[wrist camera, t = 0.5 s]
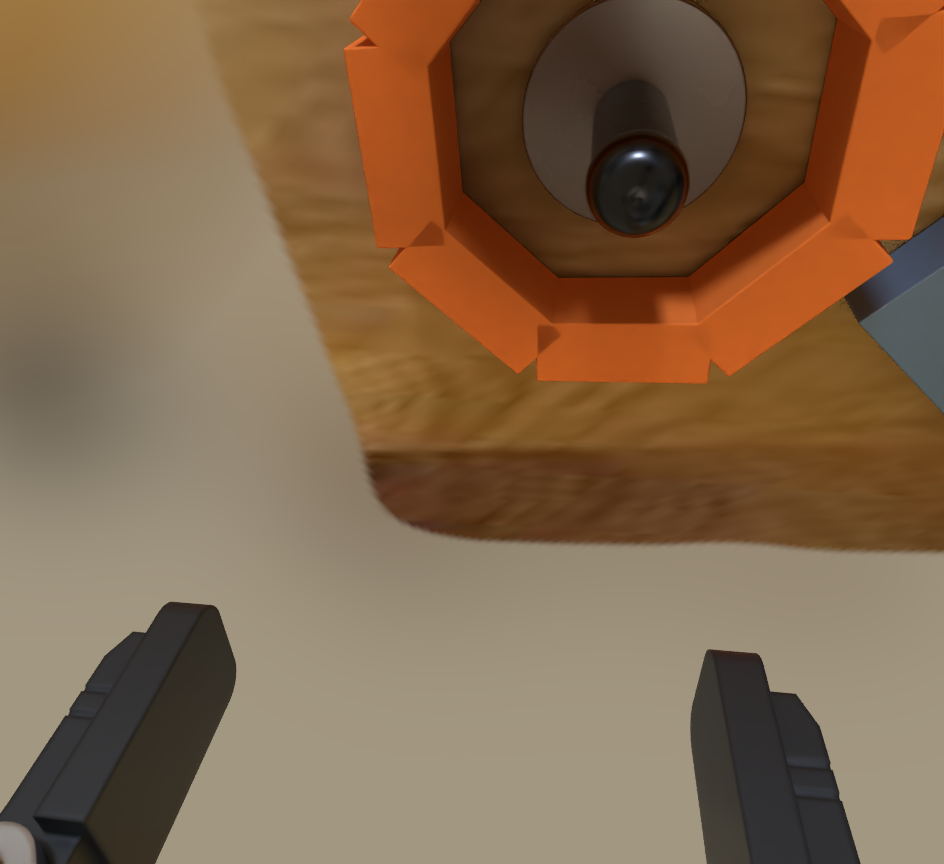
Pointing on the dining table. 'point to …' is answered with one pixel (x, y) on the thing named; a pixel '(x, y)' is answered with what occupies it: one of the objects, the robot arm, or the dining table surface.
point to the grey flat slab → (909, 310)
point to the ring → (650, 298)
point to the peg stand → (634, 111)
